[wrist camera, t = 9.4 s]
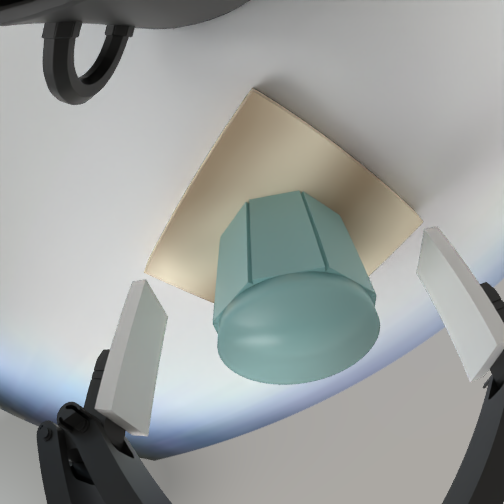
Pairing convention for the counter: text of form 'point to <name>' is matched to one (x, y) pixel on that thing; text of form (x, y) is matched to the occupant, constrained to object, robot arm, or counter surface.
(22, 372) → the counter surface
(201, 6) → the mug
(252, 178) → the post block
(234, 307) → the cap
